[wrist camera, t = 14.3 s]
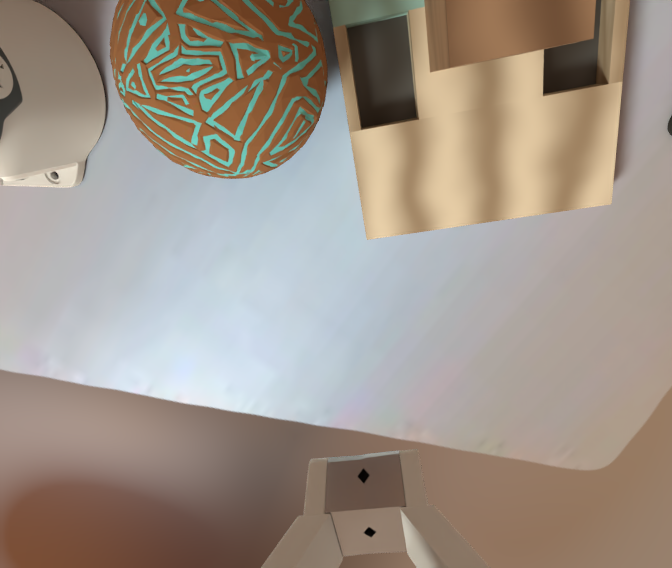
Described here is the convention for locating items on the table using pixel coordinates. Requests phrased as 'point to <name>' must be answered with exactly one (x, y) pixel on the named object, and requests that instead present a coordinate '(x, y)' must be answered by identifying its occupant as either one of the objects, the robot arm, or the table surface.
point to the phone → (670, 126)
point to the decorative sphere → (220, 80)
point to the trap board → (475, 121)
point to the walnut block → (502, 28)
